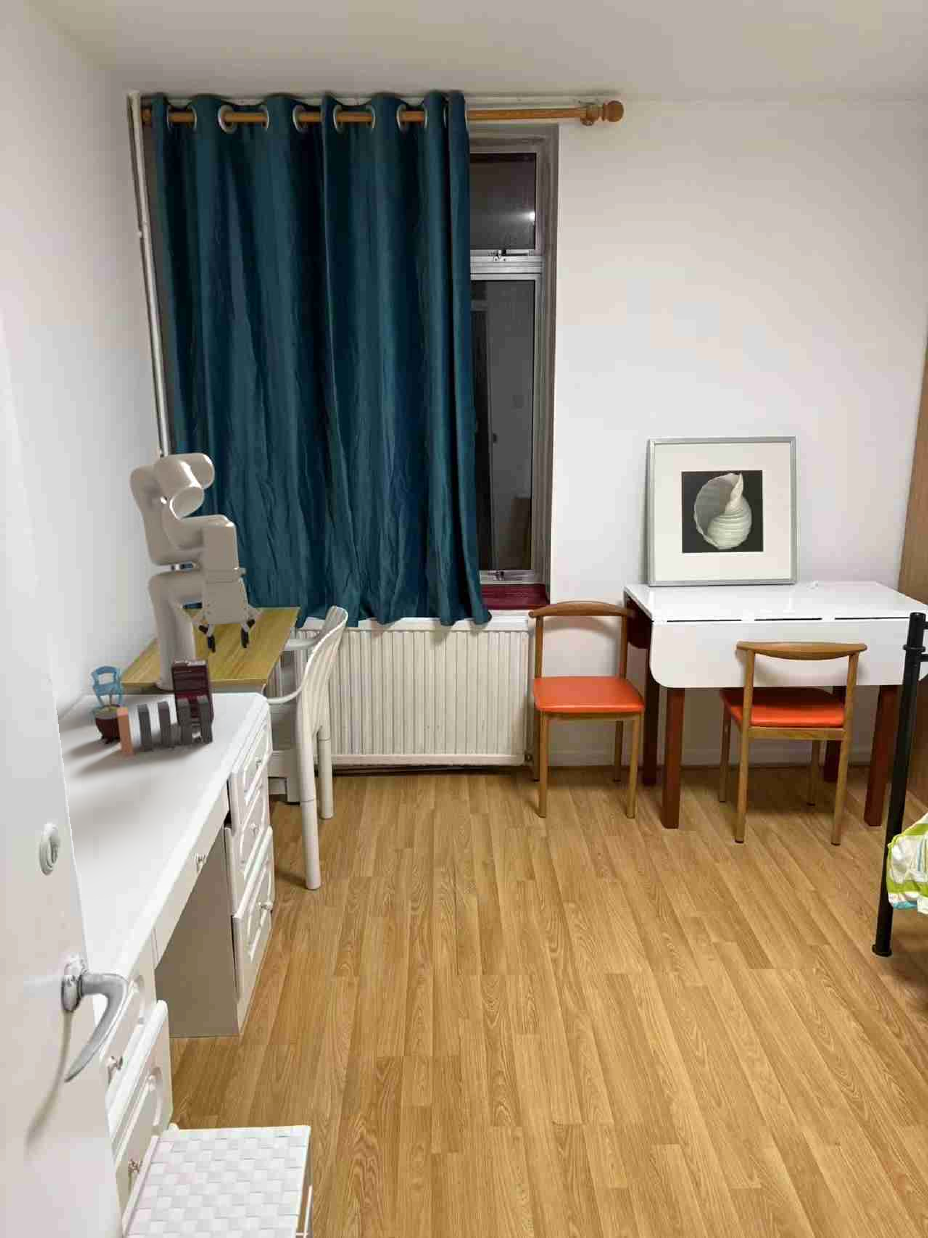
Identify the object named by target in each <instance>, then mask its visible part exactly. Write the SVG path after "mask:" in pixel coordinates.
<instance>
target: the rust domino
mask: <svg viewBox="0 0 928 1238" xmlns="http://www.w3.org/2000/svg"><path fill="white" fill-rule="evenodd" d="M128 711H129V710H128V707H127V706H124V707H121V708H117V715H118V724H119V732H120V740H121V741H120V740H119V741H120V747H121V753H122V757H126V756H133V755H134V750H133V749H134V748H133V743H132V734H131V726H130V725H131V724H130V717H129V712H128Z"/></svg>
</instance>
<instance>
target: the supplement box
mask: <svg viewBox="0 0 928 1238" xmlns="http://www.w3.org/2000/svg"><path fill="white" fill-rule="evenodd" d="M209 665H210V663H209V658H204V659H196V660H183V661H174V662H173V664H172V666H171V673H172V682H173V690H172V691H173V699H174V707H175V714H176V725H177V728H180V723H179V714H178V704H177V699H183V698H187V700H188V703H189V705H190V715H191V725H192V727H199V716H198V706H197V696H203V695H206V696H207V698H208V700H209V704H210V715H211V726H213V724H214V720H215V711H214V705H213V692H212V684H211V683H212V682H211V674H210V666H209Z"/></svg>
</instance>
